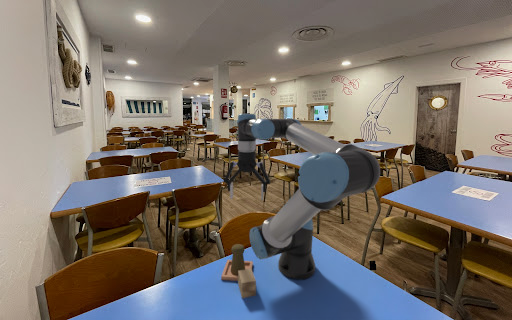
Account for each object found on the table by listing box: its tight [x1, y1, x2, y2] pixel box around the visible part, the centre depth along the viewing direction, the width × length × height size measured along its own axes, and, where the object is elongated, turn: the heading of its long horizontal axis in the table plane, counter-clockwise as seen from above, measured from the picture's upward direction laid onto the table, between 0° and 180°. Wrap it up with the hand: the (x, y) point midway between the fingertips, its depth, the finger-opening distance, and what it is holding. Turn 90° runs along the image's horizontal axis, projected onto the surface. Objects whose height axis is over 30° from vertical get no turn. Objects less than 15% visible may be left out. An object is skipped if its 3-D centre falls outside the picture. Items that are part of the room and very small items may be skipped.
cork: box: [231, 243, 245, 275], centre depth 97 cm, size 6×6×11 cm
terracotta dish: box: [220, 259, 254, 282], centre depth 98 cm, size 11×11×1 cm
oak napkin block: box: [237, 268, 257, 299], centre depth 87 cm, size 5×7×6 cm
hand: (246, 198), depth 106 cm, fingers open, 13 cm apart
